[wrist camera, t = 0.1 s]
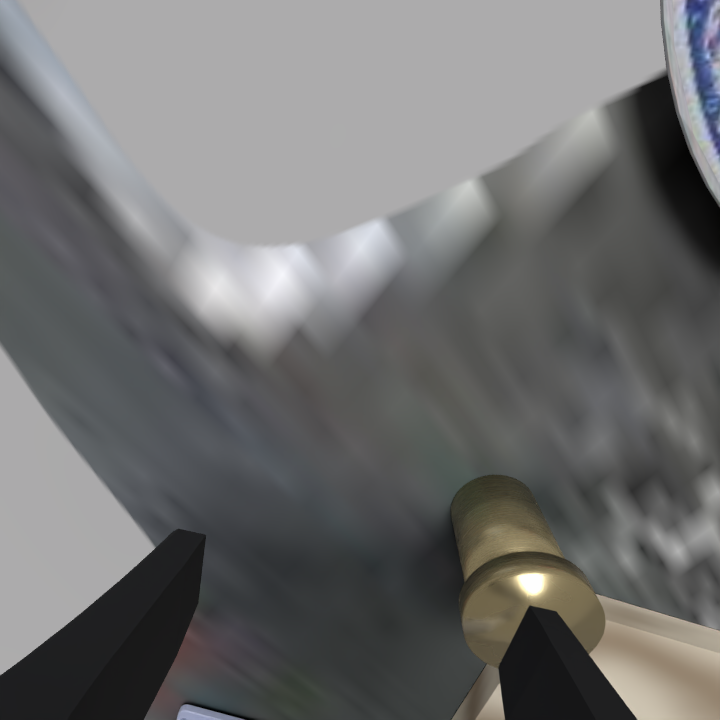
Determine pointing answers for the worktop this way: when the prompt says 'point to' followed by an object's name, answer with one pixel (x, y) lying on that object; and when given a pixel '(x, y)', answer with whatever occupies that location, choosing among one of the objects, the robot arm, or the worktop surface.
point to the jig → (637, 667)
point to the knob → (514, 569)
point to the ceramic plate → (696, 79)
